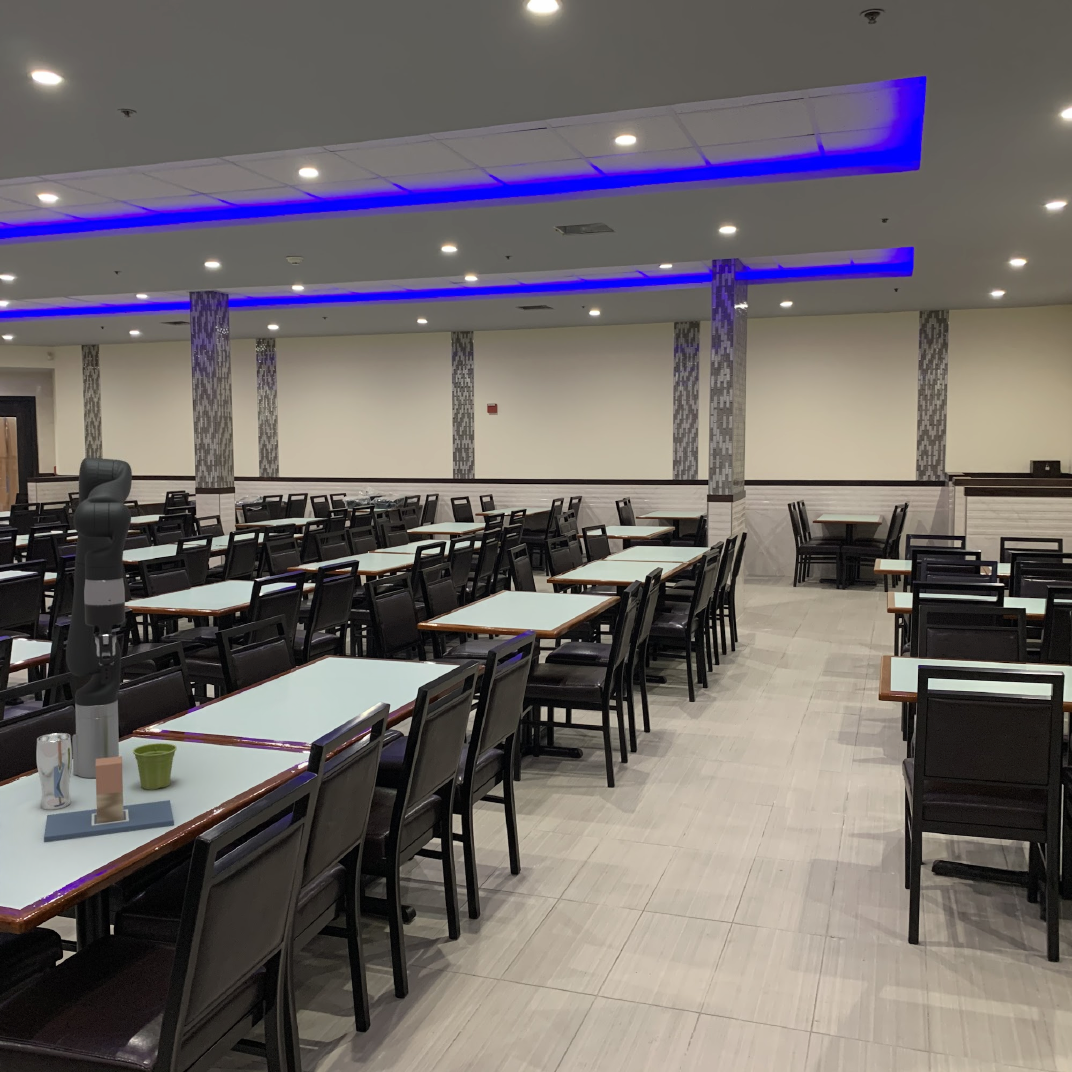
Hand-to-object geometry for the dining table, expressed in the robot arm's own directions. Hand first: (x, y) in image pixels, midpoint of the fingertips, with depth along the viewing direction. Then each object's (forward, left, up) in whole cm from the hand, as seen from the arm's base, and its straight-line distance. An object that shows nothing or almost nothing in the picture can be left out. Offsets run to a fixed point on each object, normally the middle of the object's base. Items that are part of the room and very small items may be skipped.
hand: (106, 679), depth 203 cm
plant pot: (-2, +23, -30) cm, 38 cm away
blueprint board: (0, 0, -30) cm, 30 cm away
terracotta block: (0, 0, -23) cm, 23 cm away
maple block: (0, 0, -29) cm, 29 cm away
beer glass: (-17, +8, -30) cm, 36 cm away
